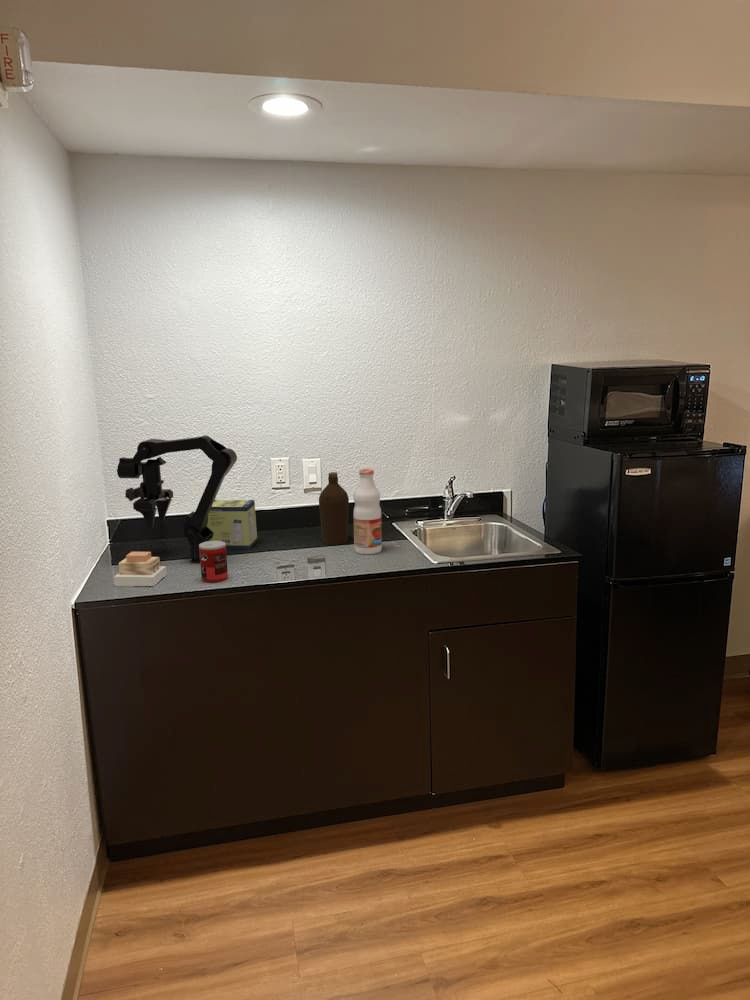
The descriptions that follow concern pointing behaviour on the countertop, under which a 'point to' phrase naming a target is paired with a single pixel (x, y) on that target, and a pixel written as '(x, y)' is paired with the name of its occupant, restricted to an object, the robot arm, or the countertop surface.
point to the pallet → (139, 567)
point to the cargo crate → (138, 556)
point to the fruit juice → (367, 515)
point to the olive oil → (334, 512)
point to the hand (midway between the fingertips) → (156, 524)
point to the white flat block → (140, 578)
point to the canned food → (213, 561)
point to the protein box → (233, 523)
